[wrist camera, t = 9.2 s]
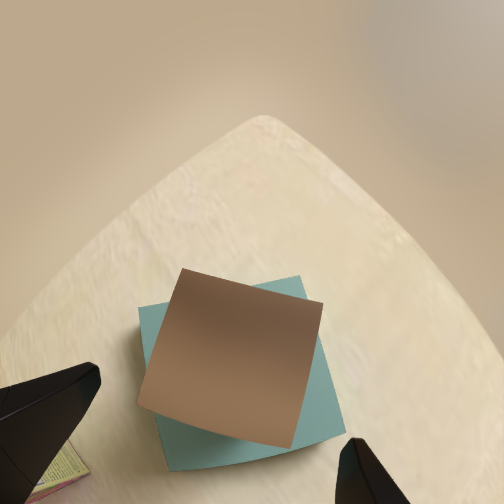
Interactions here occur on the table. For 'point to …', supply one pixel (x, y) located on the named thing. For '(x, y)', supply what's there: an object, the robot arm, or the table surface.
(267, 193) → the table surface
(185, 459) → the teal plinth
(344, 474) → the robot arm
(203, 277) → the walnut block
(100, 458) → the table surface
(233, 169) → the table surface
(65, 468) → the box
